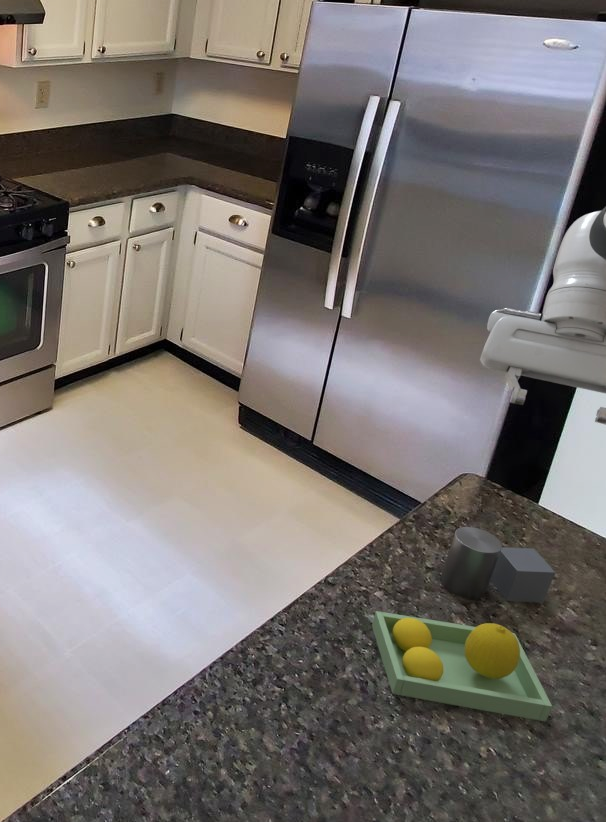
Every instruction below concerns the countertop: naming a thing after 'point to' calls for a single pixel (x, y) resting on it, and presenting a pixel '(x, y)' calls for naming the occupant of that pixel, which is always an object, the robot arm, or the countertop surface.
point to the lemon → (492, 651)
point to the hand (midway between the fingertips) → (558, 412)
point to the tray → (460, 673)
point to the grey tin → (470, 563)
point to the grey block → (522, 575)
